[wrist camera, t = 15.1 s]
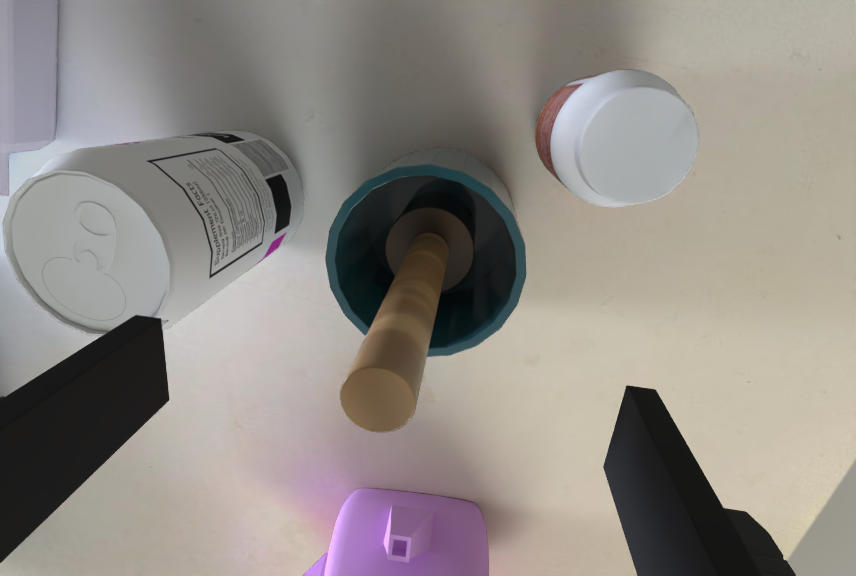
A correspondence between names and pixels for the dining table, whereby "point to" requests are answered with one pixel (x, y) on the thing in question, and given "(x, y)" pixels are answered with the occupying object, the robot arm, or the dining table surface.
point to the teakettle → (405, 537)
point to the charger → (27, 78)
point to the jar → (493, 253)
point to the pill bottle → (617, 137)
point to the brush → (408, 310)
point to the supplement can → (149, 225)
